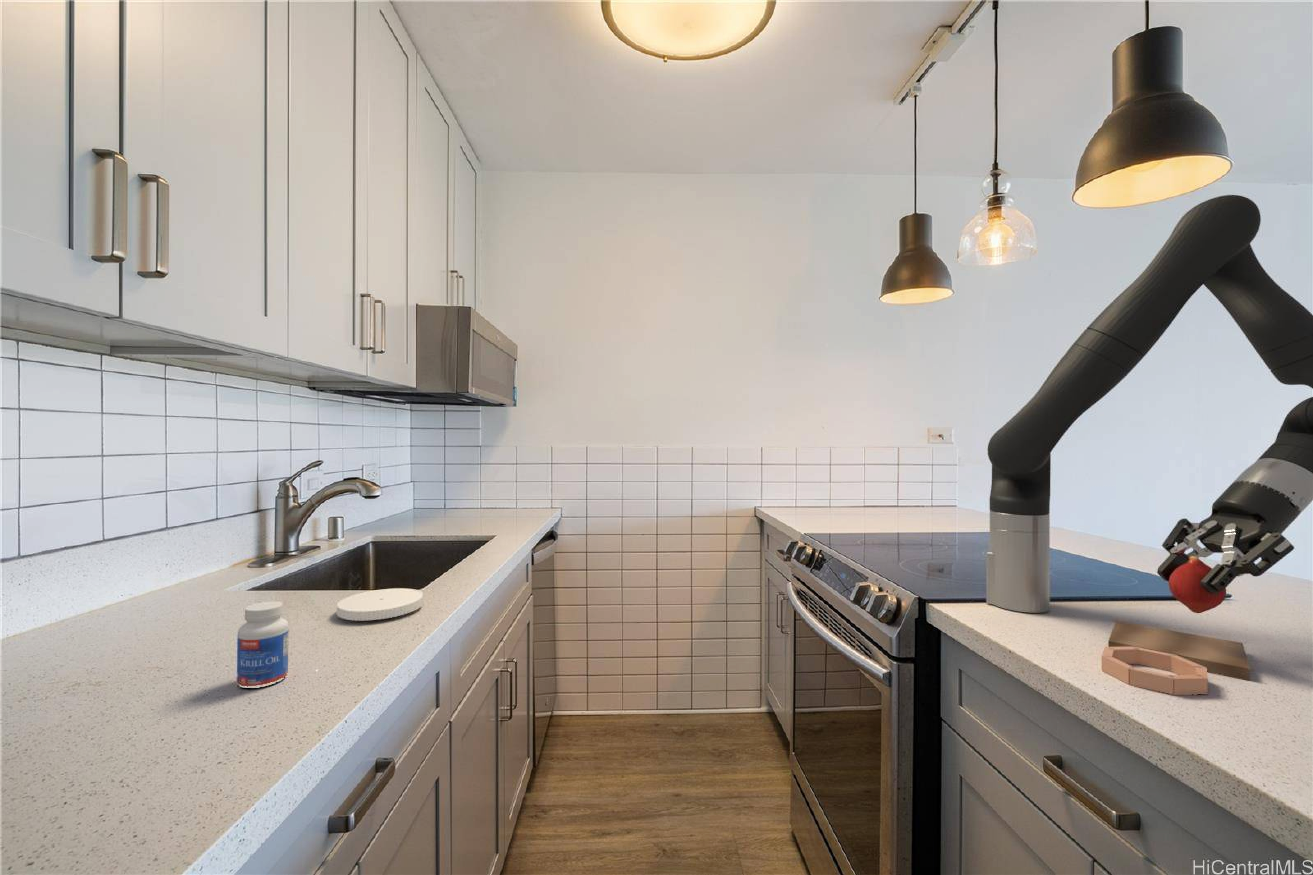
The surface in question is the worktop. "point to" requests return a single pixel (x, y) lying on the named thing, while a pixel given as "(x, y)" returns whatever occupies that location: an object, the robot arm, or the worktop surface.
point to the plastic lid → (380, 604)
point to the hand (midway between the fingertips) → (1184, 583)
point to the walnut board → (1185, 647)
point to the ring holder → (1185, 683)
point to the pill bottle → (262, 645)
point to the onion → (1194, 586)
